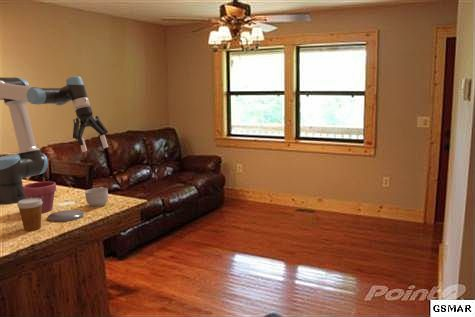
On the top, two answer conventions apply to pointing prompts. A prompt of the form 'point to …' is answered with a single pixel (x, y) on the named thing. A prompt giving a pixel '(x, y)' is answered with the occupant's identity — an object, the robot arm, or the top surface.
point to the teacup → (97, 196)
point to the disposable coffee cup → (30, 213)
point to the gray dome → (65, 215)
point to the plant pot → (41, 193)
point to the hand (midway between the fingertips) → (95, 149)
